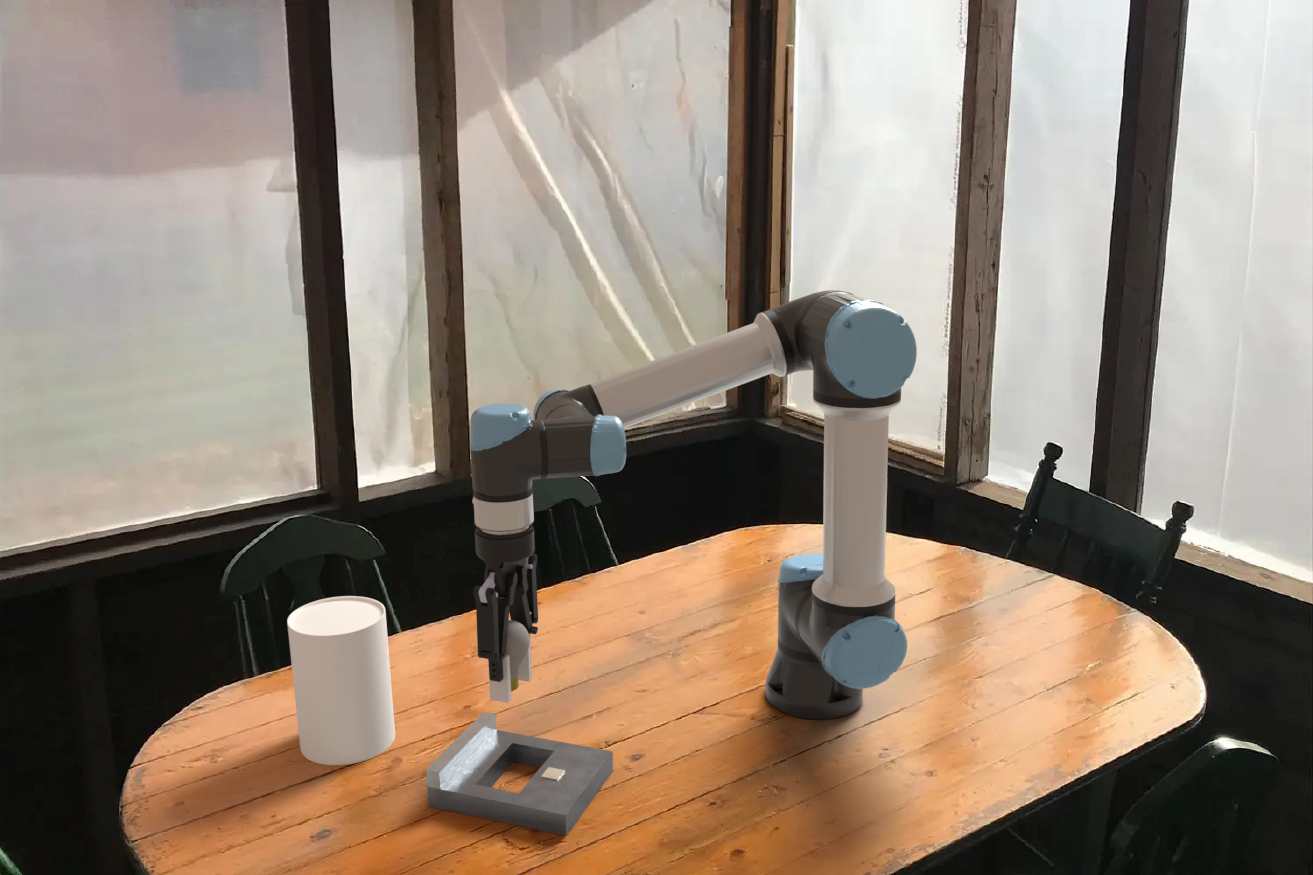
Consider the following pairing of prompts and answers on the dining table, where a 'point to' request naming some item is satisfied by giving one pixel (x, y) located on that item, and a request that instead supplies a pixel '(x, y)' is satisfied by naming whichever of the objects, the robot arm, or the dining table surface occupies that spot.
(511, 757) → the rail plate
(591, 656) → the dining table surface
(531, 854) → the dining table surface
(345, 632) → the canister
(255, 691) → the dining table surface
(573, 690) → the dining table surface
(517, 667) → the light bulb
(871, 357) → the robot arm
